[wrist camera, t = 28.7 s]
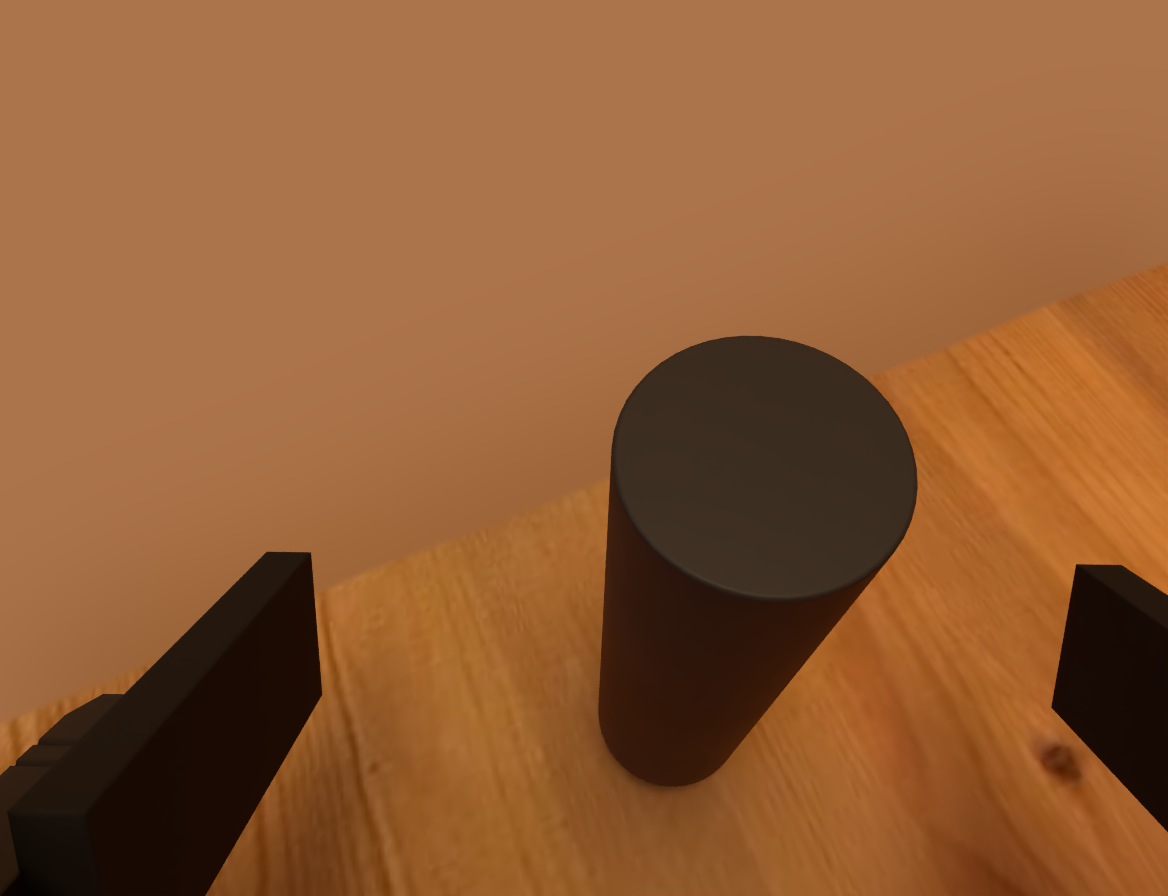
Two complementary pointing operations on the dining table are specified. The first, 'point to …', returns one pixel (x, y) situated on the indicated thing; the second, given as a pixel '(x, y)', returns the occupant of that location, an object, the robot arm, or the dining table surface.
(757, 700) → the dark brown cylinder
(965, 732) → the dining table surface
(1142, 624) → the robot arm
